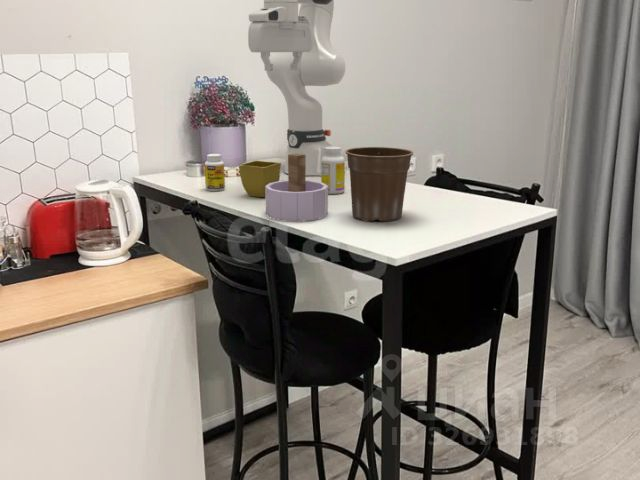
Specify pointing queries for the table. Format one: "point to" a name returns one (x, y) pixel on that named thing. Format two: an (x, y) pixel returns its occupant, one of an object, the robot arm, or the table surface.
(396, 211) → the plant pot
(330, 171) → the supplement bottle
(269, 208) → the lilac round bowl
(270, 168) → the flower pot
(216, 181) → the supplement bottle
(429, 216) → the table surface
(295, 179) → the brown wooden block
